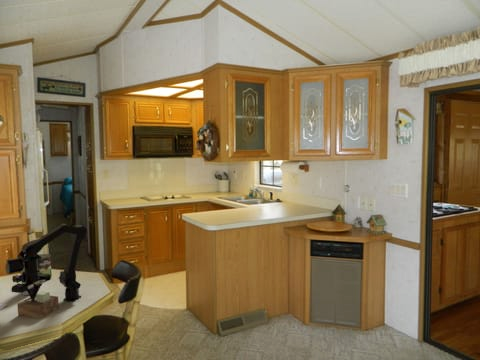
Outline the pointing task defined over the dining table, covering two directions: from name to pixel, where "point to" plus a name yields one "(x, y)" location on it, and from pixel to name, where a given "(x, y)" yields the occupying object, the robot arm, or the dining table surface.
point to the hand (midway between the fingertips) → (33, 299)
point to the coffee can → (44, 265)
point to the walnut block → (37, 307)
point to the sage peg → (43, 296)
